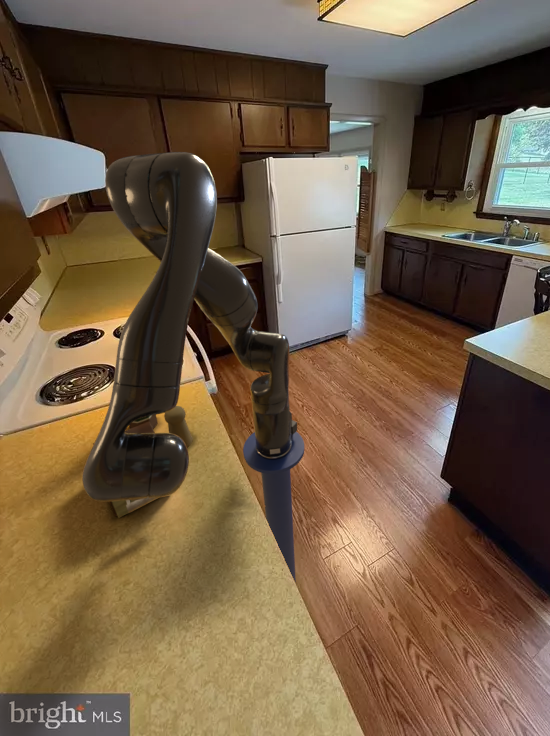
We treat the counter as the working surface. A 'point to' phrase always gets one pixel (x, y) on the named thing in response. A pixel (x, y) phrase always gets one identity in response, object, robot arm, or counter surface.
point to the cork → (178, 424)
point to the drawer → (129, 505)
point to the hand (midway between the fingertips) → (138, 477)
